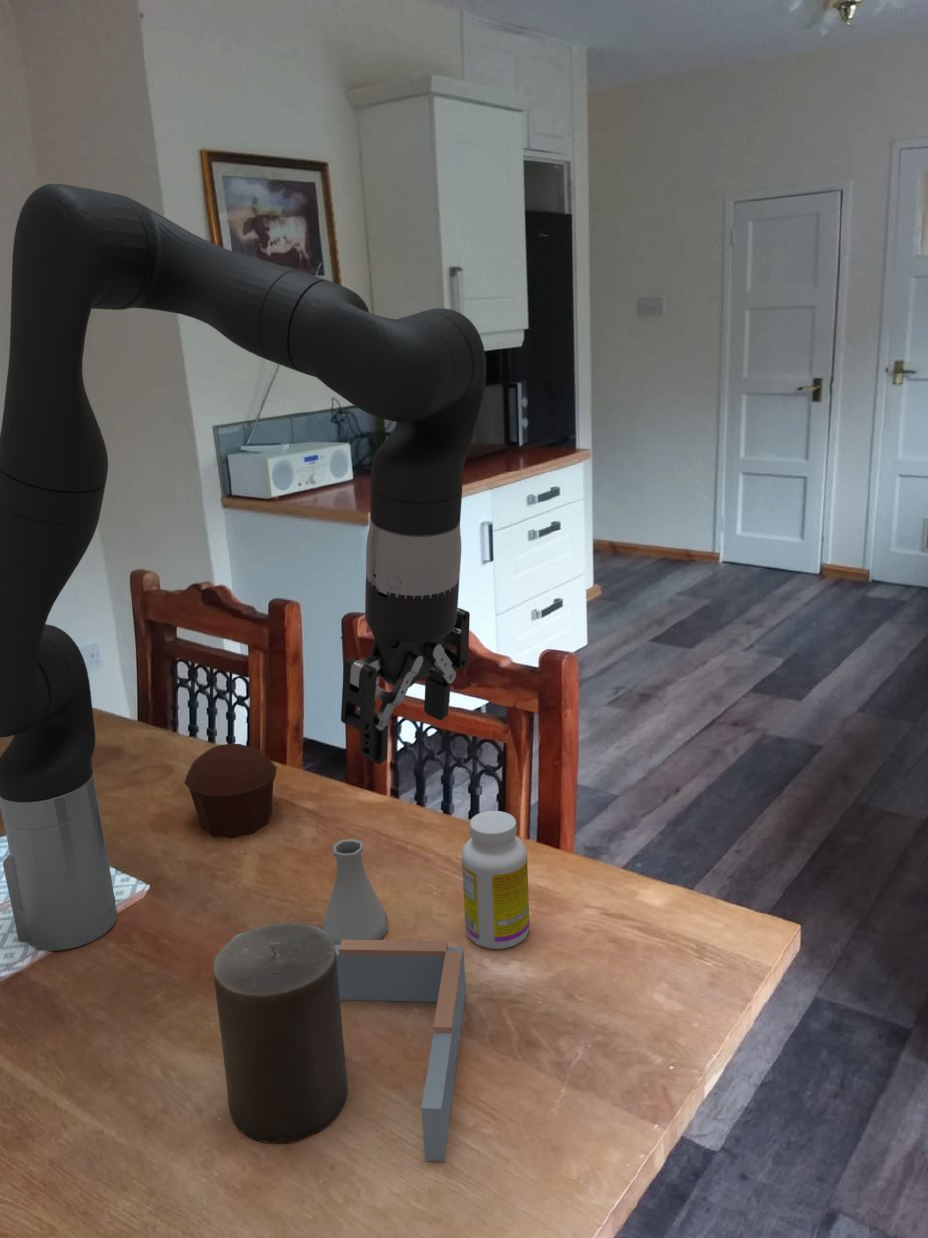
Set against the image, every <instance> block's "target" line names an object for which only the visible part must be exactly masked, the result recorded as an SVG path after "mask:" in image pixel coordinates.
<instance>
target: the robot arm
mask: <svg viewBox="0 0 928 1238" xmlns="http://www.w3.org/2000/svg"><path fill="white" fill-rule="evenodd" d="M16 222H17V223H16V227H15V232H14V237H13V246H12V247H13V248H12V262H11V265H12V267H11V295H10V298H11V299H10V326H9V327H10V330H9V331H10V332H9V352H8V353H9V355H8V367H7V376H6V383H5V385H6V386H5V394H4V404H3V414H2V419H1V421H2V423H1V429H0V738H7V737H12V736H13V737H12V740H11V741H10V743H9V745H8V746H7V747H6V748H5V750H4V751H3V752H2V754H1V755H0V811H1V812H0V813H1V817H2V820H3V821H2V822H3V827H4V832H5V836H6V842H7V845H8V850H9V855H8V856H6V858H5V859H4V860H3V862H2V867H3V873H4V878H5V880H6V887H7V892H8V896H9V901H10V907H11V911H12V915H13V919H14V924H15V930H16V935H17V939H18V941H19V942H27V943H29V944H30V945H31V946H33V947H35V948H37V949H40V950H44V951H63V950H65V951H66V950H70V949H74V948H77V947H80V946H83V945H87V944H89V943H91V942H93V941H95V940H97V939H98V938H100V937H103V935H105V934H106V933H107V932H109V931H110V929H111V928H112V927H113V926H114V925H115V923H116V921H117V920H118V919H117V918H118V910H117V905H116V901H117V899H116V896H115V892H114V886H113V879H112V874H111V868H110V861H109V856H108V850H107V845H106V838H105V833H104V827H103V821H102V815H101V810H100V809H101V808H100V804H99V798H98V792H97V786H96V782H95V781H96V780H95V775H94V769H93V764H92V759H93V755H94V752H95V747H96V730H95V729H96V728H95V720H94V719H95V718H94V713H93V712H94V711H93V701H92V692H91V686H90V685H91V684H90V678H89V673H88V669H87V665H86V662H85V659H84V656H83V654H82V652H81V650H80V647H79V646H78V644H77V643H76V642H75V641H74V640H73V638H72V637H71V636H70V635H69V634H68V633H67V632H65V631H64V630H63V629H61V628H59V627H57V626H56V625H52V624H47V621H48V618H49V616H50V613H51V610H52V609H53V606H54V604H55V602H56V601H57V599H58V597H59V595H60V594H61V592H62V591H63V590H64V588H65V586H66V584H67V583H68V581H69V579H71V576H72V575H73V573H74V571H75V570H76V568H77V567H78V565H79V563H80V562H81V560H82V559H83V556H84V555H85V553H86V552H87V549H88V548H89V546H90V544H91V541H92V540H93V538H94V536H95V533H96V530H97V527H98V523H99V521H100V517H101V510H102V506H103V499H104V495H105V489H106V483H107V478H108V473H109V471H108V470H109V457H108V456H109V455H108V450H107V446H106V443H105V440H104V437H103V433H102V431H101V428H100V426H99V423H98V420H97V418H96V416H95V413H94V410H93V408H92V406H91V403H90V399H89V397H88V395H87V391H86V388H85V382H84V377H83V361H84V360H83V359H84V350H85V342H86V334H87V329H88V323H89V319H90V315H91V311H92V309H93V310H113V311H115V310H117V311H118V310H119V311H120V310H122V311H123V310H128V309H133V308H134V309H144V310H145V309H146V310H154V311H161V312H167V313H172V314H177V315H178V314H179V315H184V316H186V317H190V318H193V319H196V320H197V321H200V322H202V323H205V324H206V325H208V326H210V327H212V328H213V329H215V330H216V331H217V332H219V333H220V334H221V335H222V336H223V337H225V338H226V339H228V340H229V341H230V342H232V343H233V344H235V345H236V346H238V347H239V348H242V350H245V351H247V352H249V353H251V354H253V355H254V356H255V355H256V356H258V357H259V358H262V359H264V360H267V361H270V362H272V363H275V364H277V365H280V366H283V367H286V368H288V369H291V370H294V371H296V372H299V373H301V374H305V375H307V376H310V377H313V378H317V380H319V381H320V382H321V383H323V384H324V385H325V386H326V387H327V388H328V389H330V390H331V391H333V392H334V393H336V394H337V395H339V396H341V398H343V399H344V400H346V401H347V402H349V403H350V404H352V405H353V406H355V407H356V408H358V409H359V410H361V411H363V413H364V412H365V413H367V414H368V415H371V416H373V417H375V418H378V419H379V418H380V419H382V420H386V421H391V422H396V423H395V427H394V429H393V431H392V433H391V434H390V435H389V437H388V438H387V439H385V441H384V442H382V444H381V445H380V446H379V448H378V449H377V450H376V452H375V453H374V454H373V455H374V456H373V459H372V461H371V462H372V463H371V469H370V470H371V471H370V504H369V505H370V507H369V508H370V509H369V512H370V514H369V515H370V516H369V526H368V531H367V536H366V537H367V538H366V548H365V592H364V593H365V595H364V596H365V601H364V603H365V604H364V605H365V606H364V609H365V610H364V619H365V621H366V624H367V625H368V627H369V629H370V631H371V634H372V636H373V643H372V646H371V649H370V651H369V655H368V656H366V657H364V658H362V659H356V658H354V657H348V658H347V659H346V660H345V661H344V663H343V671H342V676H343V677H342V687H341V688H342V690H341V707H340V709H341V712H340V722H341V723H343V724H344V725H347V726H350V727H352V728H353V729H355V730H358V731H359V732H360V733H359V734H360V736H359V738H360V739H359V740H360V742H359V751H360V754H361V756H363V757H364V758H366V759H368V760H369V761H371V762H373V763H375V764H377V765H381V764H382V763H384V762H385V761H387V760H388V742H389V739H388V738H389V736H388V735H389V726H388V725H387V724H388V723H389V720H390V718H391V716H392V713H393V710H394V709H395V707H398V706H400V705H402V704H403V701H404V699H405V697H406V695H407V692H408V690H409V688H410V687H412V686H413V685H414V684H416V683H417V681H419V680H422V679H424V678H425V683H424V703H423V710H424V713H425V714H426V715H428V716H430V717H431V718H434V719H436V720H438V721H442V720H444V719H445V718H446V717H448V715H449V706H450V698H451V697H450V696H451V695H450V694H451V684H452V683H454V681H455V679H456V677H457V673H456V672H457V671H458V669H459V670H464V669H465V668H467V666H468V663H469V650H470V649H469V644H470V619H471V617H470V616H471V613H470V612H469V611H468V610H465V609H463V608H460V607H458V606H459V590H460V577H461V576H460V574H461V561H462V560H461V559H462V534H461V517H462V516H461V515H462V501H463V500H462V499H463V498H462V497H463V472H464V467H465V462H466V460H467V456H468V453H469V450H470V446H471V444H472V441H473V438H474V434H475V430H476V426H477V422H478V418H479V415H480V411H481V407H482V402H483V398H484V394H485V389H486V381H487V380H486V379H487V358H486V353H485V346H484V343H483V340H482V338H481V335H480V333H479V331H478V329H477V328H476V326H475V325H474V323H473V322H472V321H471V320H470V319H469V318H468V317H466V316H465V315H464V314H462V313H461V312H459V311H456V310H454V309H450V308H431V309H428V310H427V309H426V310H424V311H419V312H417V313H413V314H411V315H406V316H403V317H399V318H391V317H390V318H388V317H384V316H379V315H376V314H373V313H370V310H369V308H368V305H367V304H366V302H365V301H364V299H363V298H362V297H361V296H360V295H359V294H358V293H357V292H355V291H353V290H351V289H350V288H348V287H346V286H344V285H342V284H339V283H337V282H334V281H331V280H328V279H325V278H321V277H318V276H317V275H316V276H315V275H313V274H310V273H307V272H306V273H305V272H304V271H300V270H298V269H294V268H292V267H287V266H285V265H280V264H277V263H275V262H271V261H267V260H264V259H261V258H257V257H253V256H249V255H246V254H244V253H243V254H242V253H239V252H236V251H233V250H231V249H228V248H226V247H223V246H220V245H217V244H216V243H213V242H211V241H209V240H207V239H204V238H202V237H200V236H198V235H196V234H195V233H193V232H191V231H189V230H187V229H186V228H183V227H182V226H180V225H179V224H177V223H175V222H173V221H171V219H168V218H167V217H164V215H161V214H159V213H158V212H157V211H154V210H152V209H150V208H149V207H147V206H145V205H144V204H142V203H140V202H138V201H137V200H135V199H133V198H130V197H128V196H125V195H123V194H119V193H118V194H117V193H113V192H108V191H103V190H98V189H97V190H96V189H92V188H85V187H82V186H77V185H76V186H75V185H71V184H64V183H63V184H62V183H48V184H44V185H41V186H40V187H38V188H36V189H35V190H33V191H32V192H31V193H30V195H28V197H27V198H26V200H25V201H24V203H23V205H22V207H21V209H20V213H19V216H18V219H17V221H16ZM452 646H454V647H455V648H456V652H455V651H454V650H452ZM381 678H382V679H383V681H384V682H386V683H388V684H389V685H392V686H394V688H393V690H392V691H387V690H385V689H383V688H382V687H381V686H380V685H379V684H380V681H381V680H380V679H381ZM377 698H379V699H381V700H382V704H381V706H380V708H379V710H378V712H377V711H375V705H376V700H377ZM356 707H358V708H357V709H356Z"/></svg>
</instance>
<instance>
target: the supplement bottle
mask: <svg viewBox="0 0 928 1238" xmlns="http://www.w3.org/2000/svg"><path fill="white" fill-rule="evenodd" d="M517 830H518V829H517V820H516V818H515V817H514V815H512V814H510V813H508V812H505V811H500V810H487V811H483V812H480V813H477V814H475V815H474V816H473V817H472V818H471V819H470V820H469V835H470V837H471V838H470V839H468V840H467V842H466V843H465V844H464V846H463V847H462V851H461V866H462V867H461V871H462V885H463V886H462V888H463V889H462V890H463V903H464V905H463V906H464V907H463V908H464V922H465V931H466V935H467V936H468V938H469V939H470V940H471V941H472V942H473V943H474V944H477V945H478V946H480V947H484V948H487V949H491V950H493V949H495V950H498V949H499V950H501V949H508V948H512V947H514V946H516V945H518V944H520V943H522V941H524V940H525V939H526V938H527V935H528V933H529V931H530V900H529V899H530V898H529V897H530V896H529V873H528V851H527V847H526V845H525V844H524V842H523V841H522V840H521V839H520V838H519V837H517Z"/></svg>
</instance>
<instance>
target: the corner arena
mask: <svg viewBox="0 0 928 1238" xmlns="http://www.w3.org/2000/svg"><path fill="white" fill-rule="evenodd" d="M448 945H449V944H448V941H447V940H403V939H402V940H400V939H398V940H396V939H395V940H391V939H389V940H387V939H386V940H385V939H379V940H342V941H341V944H340V945H334V946H335V950H336V961H337V971H338V983H339V995H340V1001H373V1002H378V1001H379V1002H414V1003H415V1002H422V1003H423V1002H424V1003H436V1009H435V1014H434V1019H433V1034H432V1041H431V1047H430V1052H429V1053H430V1054H429V1059H428V1066H427V1072H426V1079H425V1084H424V1090H423V1095H422V1101H421V1109H420V1110H421V1118H422V1119H421V1121H422V1137H423V1138H422V1139H423V1150H424V1151H423V1152H424V1153H423V1154H424V1162H443V1163H445V1162H446V1161H445V1160H446V1154H447V1153H446V1152H447V1146H448V1138H449V1137H448V1136H449V1128H450V1121H451V1113H452V1104H453V1097H454V1091H455V1084H456V1083H455V1081H456V1074H457V1066H458V1058H459V1050H460V1041H461V1035H462V1034H461V1033H462V1027H463V1019H464V1009H465V1002H466V994H467V989H466V987H467V985H466V969H465V967H466V966H465V947H464V946H448Z"/></svg>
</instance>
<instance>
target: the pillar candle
mask: <svg viewBox="0 0 928 1238" xmlns="http://www.w3.org/2000/svg"><path fill="white" fill-rule="evenodd" d="M212 970H213V979H214V980H213V981H214V988H215V999H216V1006H217V1014H218V1015H217V1016H218V1022H219V1033H220V1037H221V1039H220V1040H221V1047H222V1055H223V1066H224V1071H225V1072H224V1073H225V1083H226V1092H227V1101H228V1102H227V1105H228V1110H229V1112H230V1115H231V1118H232V1120H233V1122H234V1124H235V1125H236V1127H237V1129H239V1131H241V1132H242V1133H243V1134H244V1135H245V1136H247V1137H249V1138H252V1139H253V1140H257V1141H259V1142H263V1143H270V1144H271V1143H293V1142H294V1143H295V1142H297V1141H300V1140H304V1139H306V1138H309V1137H310V1136H311V1137H312V1135H315V1134H317V1133H318V1132H320V1131H321V1130H323V1129H324V1128H326V1127H327V1126H328V1125H330V1124H331V1123H332V1122H334V1120H335V1119H336V1118H337V1117H338V1116H339V1114H340V1113H341V1111H342V1110H343V1108H344V1106H345V1105H346V1101H347V1097H348V1078H347V1066H346V1065H347V1064H346V1055H345V1043H344V1033H343V1032H344V1031H343V1021H342V1020H343V1019H342V1009H341V1008H342V1007H341V1000H340V995H339V983H338V971H337V961H336V950H335V946H334V943H333V941H332V939H331V938H330V937H329V935H328V933H327V932H326V931H323V930H322V928H321V927H319V926H316V925H311V924H309V925H308V924H303V923H299V922H294V923H291V922H278V923H274V924H265V925H262V926H258V927H255V928H252V929H250V930H247V931H245V932H240V933H237V934H236V935H234V936H233V937H232V938H231V940H230V941H228V942H227V943H226V945H224V946H222V948H221V950H219V952H218V954H217V955H216V957H215V959H214V961H213V966H212Z"/></svg>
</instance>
